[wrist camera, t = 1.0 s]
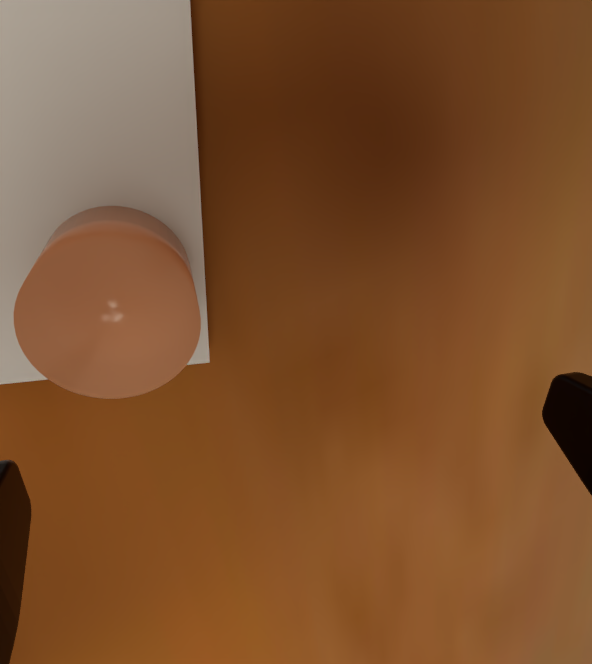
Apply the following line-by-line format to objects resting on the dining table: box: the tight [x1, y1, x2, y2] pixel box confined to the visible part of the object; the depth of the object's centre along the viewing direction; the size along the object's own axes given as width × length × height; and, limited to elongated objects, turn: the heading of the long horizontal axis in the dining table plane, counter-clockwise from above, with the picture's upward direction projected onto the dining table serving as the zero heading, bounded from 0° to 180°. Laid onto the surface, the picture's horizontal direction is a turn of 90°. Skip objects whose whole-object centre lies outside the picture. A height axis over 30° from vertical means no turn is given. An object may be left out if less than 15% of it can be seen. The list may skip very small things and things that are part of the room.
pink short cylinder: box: [14, 206, 201, 399], centre depth 15 cm, size 5×5×4 cm
